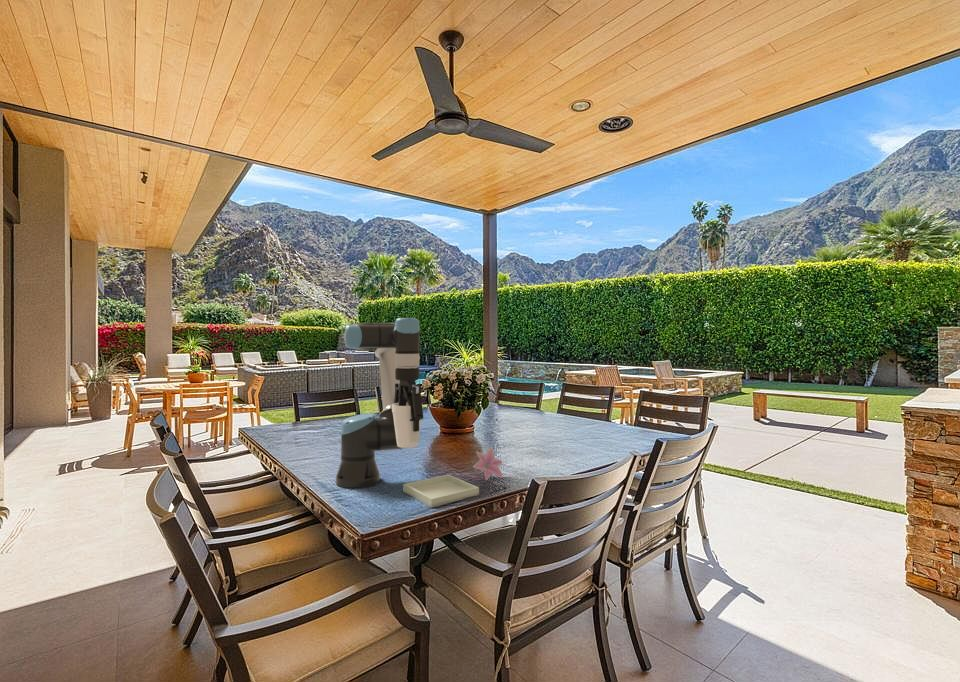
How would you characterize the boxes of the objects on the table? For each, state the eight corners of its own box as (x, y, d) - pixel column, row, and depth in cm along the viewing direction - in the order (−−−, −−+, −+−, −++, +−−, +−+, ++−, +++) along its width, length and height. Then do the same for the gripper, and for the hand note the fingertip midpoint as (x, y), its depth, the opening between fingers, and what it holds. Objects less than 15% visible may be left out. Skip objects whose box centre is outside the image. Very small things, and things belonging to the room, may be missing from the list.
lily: (467, 483, 166) (476, 462, 162) (468, 462, 177) (476, 442, 173) (498, 491, 167) (508, 471, 164) (497, 470, 178) (506, 451, 175)
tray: (431, 507, 139) (431, 499, 139) (403, 491, 153) (403, 484, 153) (478, 495, 150) (478, 487, 150) (448, 481, 164) (448, 474, 164)
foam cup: (419, 449, 139) (418, 406, 139) (388, 448, 139) (388, 406, 139) (425, 442, 148) (424, 402, 148) (396, 441, 149) (396, 401, 149)
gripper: (435, 368, 137) (435, 443, 137) (403, 365, 155) (403, 431, 155) (412, 369, 133) (412, 447, 133) (382, 366, 151) (382, 434, 151)
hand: (407, 438), depth 144 cm, fingers closed on foam cup, 9 cm apart
